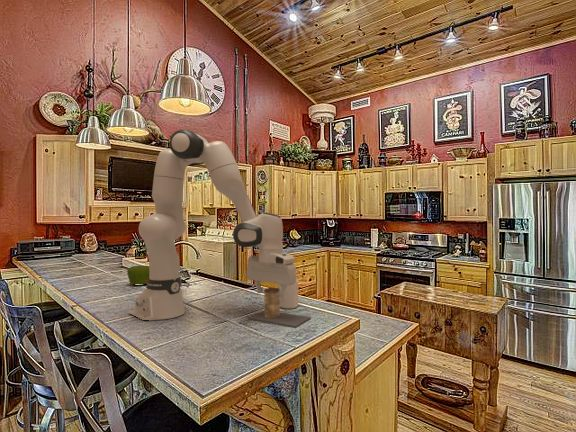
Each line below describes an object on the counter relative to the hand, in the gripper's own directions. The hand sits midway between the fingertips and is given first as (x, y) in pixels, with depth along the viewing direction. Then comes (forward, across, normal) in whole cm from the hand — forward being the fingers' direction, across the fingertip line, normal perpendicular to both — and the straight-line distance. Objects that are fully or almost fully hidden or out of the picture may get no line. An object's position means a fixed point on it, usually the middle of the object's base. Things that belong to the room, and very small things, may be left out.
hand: (270, 294), depth 124 cm
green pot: (+11, -97, +15) cm, 99 cm away
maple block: (+8, +1, 0) cm, 8 cm away
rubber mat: (+8, +4, 0) cm, 9 cm away
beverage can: (+9, -2, +16) cm, 18 cm away
